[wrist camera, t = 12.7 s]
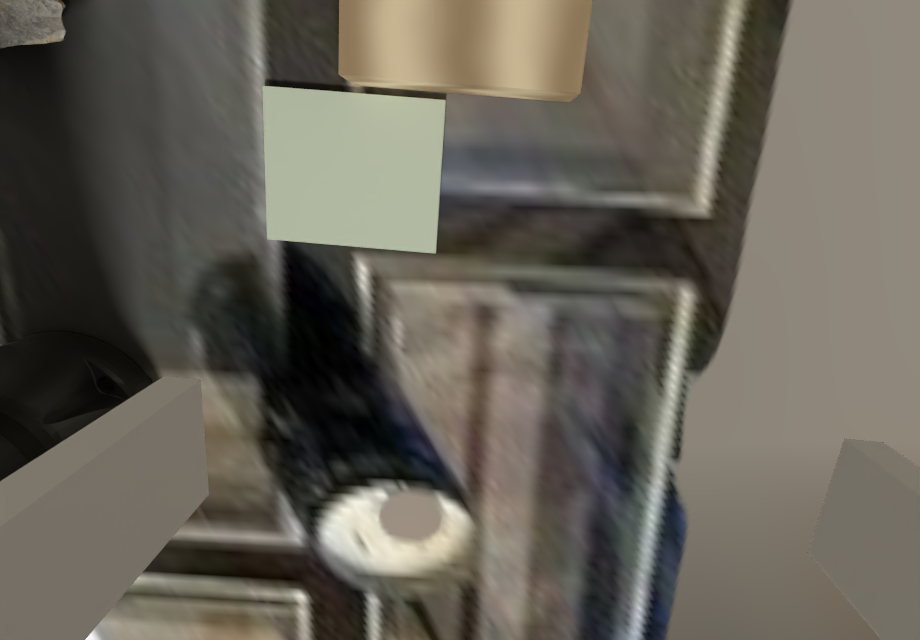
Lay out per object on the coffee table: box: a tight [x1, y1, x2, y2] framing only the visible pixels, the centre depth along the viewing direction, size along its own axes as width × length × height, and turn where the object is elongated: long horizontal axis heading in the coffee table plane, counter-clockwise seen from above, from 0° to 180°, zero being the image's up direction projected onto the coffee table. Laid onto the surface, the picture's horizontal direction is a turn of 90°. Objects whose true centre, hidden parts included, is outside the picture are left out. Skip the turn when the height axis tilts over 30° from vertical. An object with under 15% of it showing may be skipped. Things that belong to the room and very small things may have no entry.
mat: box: [263, 86, 446, 253], centre depth 35 cm, size 12×10×1 cm
